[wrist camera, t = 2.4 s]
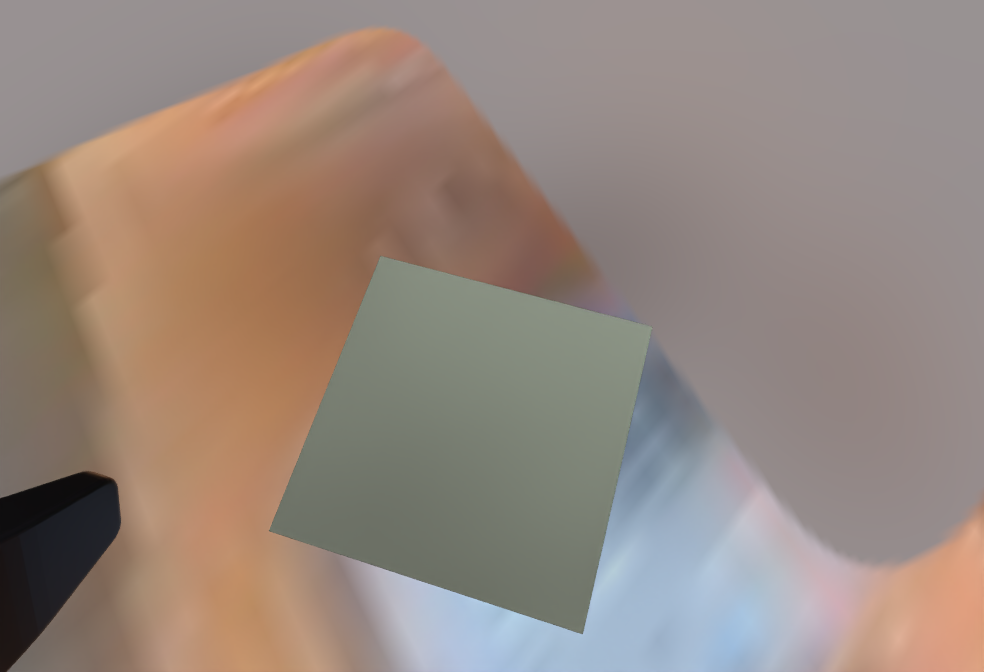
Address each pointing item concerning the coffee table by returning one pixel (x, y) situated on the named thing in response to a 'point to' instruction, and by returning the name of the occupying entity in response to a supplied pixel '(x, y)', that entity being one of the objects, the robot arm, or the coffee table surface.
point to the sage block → (471, 441)
